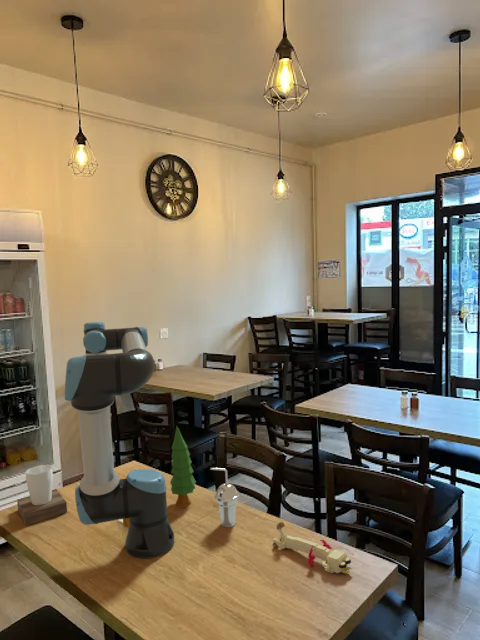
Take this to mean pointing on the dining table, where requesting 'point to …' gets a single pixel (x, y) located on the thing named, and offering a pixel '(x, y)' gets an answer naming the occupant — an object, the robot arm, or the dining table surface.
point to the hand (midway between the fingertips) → (100, 418)
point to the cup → (40, 484)
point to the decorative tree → (181, 471)
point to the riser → (41, 508)
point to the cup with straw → (226, 501)
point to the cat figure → (314, 551)
